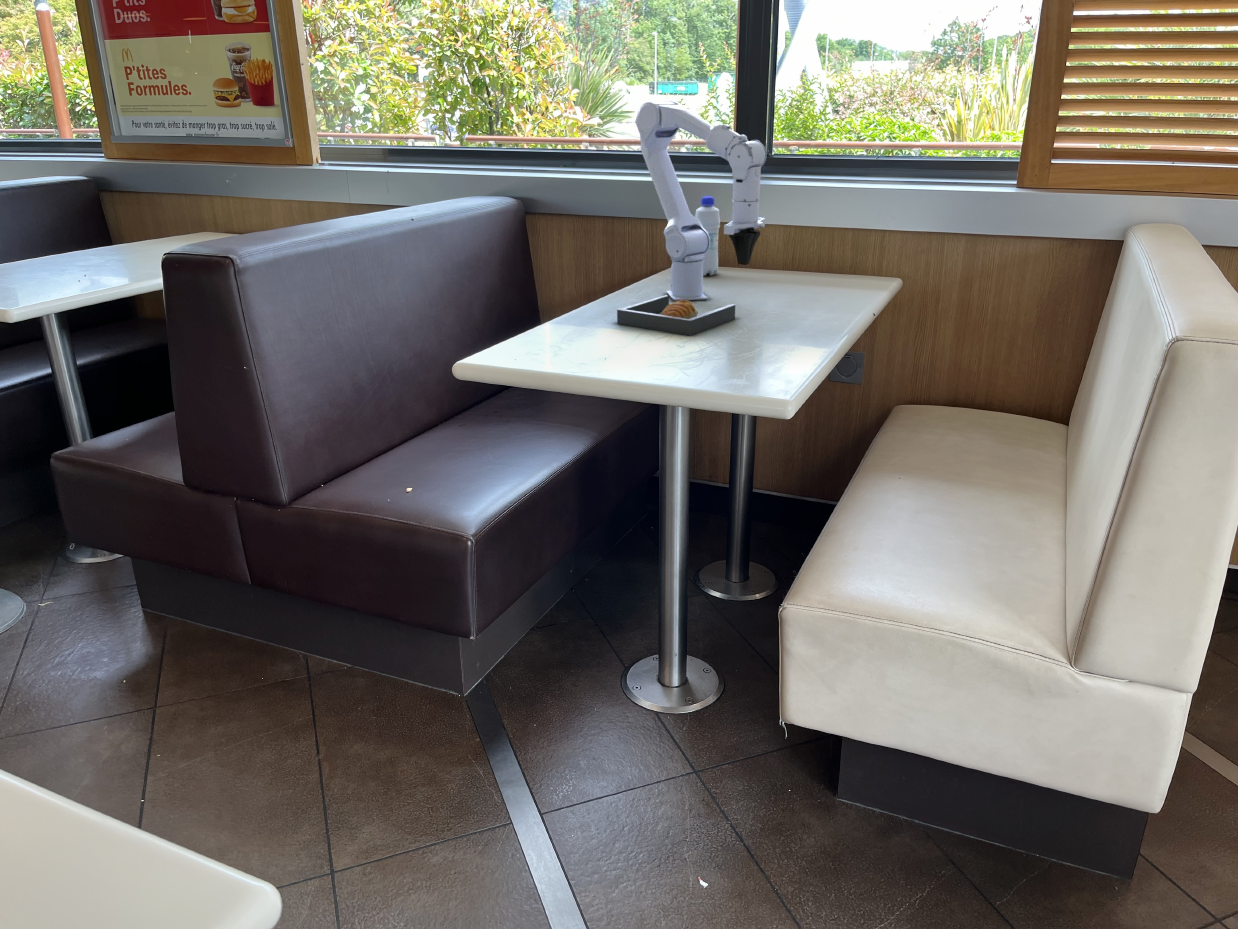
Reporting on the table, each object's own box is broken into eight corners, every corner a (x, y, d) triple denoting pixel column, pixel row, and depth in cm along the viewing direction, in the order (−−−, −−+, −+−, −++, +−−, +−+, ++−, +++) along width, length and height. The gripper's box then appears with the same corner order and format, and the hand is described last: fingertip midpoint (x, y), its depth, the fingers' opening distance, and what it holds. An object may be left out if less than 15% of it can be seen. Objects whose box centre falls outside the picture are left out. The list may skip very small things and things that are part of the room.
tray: (664, 308, 200) (664, 294, 199) (735, 318, 190) (735, 304, 189) (617, 323, 187) (616, 309, 186) (690, 335, 177) (690, 320, 176)
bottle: (716, 276, 234) (719, 197, 226) (691, 276, 235) (693, 197, 228) (720, 272, 240) (722, 194, 232) (695, 271, 241) (697, 194, 234)
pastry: (683, 327, 183) (683, 309, 182) (653, 324, 186) (653, 306, 184) (699, 317, 191) (699, 299, 190) (669, 315, 194) (669, 297, 192)
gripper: (745, 204, 184) (742, 270, 190) (778, 198, 195) (775, 261, 200) (716, 202, 188) (714, 267, 194) (750, 196, 199) (747, 258, 204)
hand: (743, 264), depth 197 cm, fingers closed
